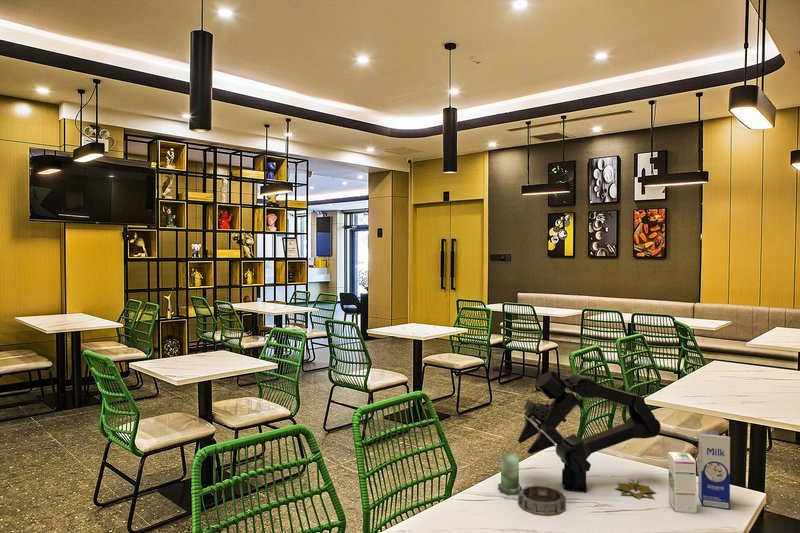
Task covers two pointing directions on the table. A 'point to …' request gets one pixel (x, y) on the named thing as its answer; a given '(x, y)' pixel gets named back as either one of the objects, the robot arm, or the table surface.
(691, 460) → the syrup box
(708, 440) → the milk carton
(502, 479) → the green marbled cylinder
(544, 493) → the gear collar
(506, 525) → the table surface
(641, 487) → the lily flower
